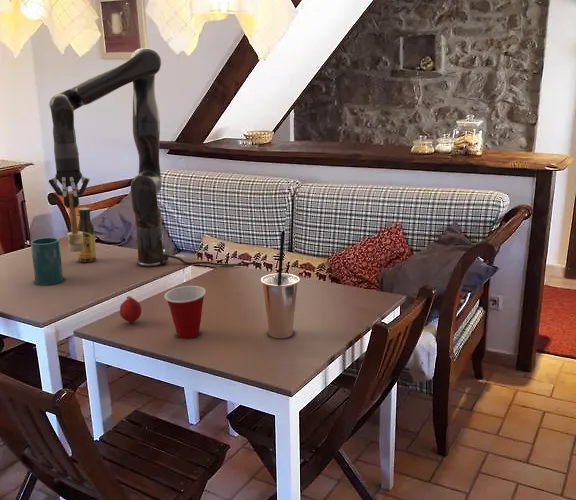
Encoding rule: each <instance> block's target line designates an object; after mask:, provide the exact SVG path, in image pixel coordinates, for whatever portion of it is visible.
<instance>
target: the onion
mask: <svg viewBox="0 0 576 500" xmlns="http://www.w3.org/2000/svg"><path fill="white" fill-rule="evenodd" d="M119 314H120V317H121V318H122V319H123V320H125V321H126V322H128V323H129V324H134V323H135V322H137V320H139V318H140V317H141V314H142V305H141V304H140V302H139V301H138V300H136V299H134V298H133V297H132V296H130V295H127V296H126V299H125V300H123V302H122V303H121V305H120V306H119Z"/></svg>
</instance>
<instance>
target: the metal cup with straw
mask: <svg viewBox="0 0 576 500" xmlns="http://www.w3.org/2000/svg"><path fill="white" fill-rule="evenodd" d="M285 235H286V232H285V231H282V230H281V232H280V243H279V244H280V245H279V257H278V258H279V259H278V272H277V273H270V274H267V275H264V276H262V277H261V278H260V282H261V283H262V287H263V288H262V289H263V296H264V304H265V312H266V318H267V319H266V321H267V329H268V335H269V336H270V337H271V338H275V339H286V338H290V337H291V336H293V334H294V323H295V312H296V303H297V294H298V284H299V282H300V280H301V279H300V277H299V276H297V275H295V274H292V273H285V272H284V273H283V264H284V263H283V261H284V249H285Z"/></svg>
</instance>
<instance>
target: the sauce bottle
mask: <svg viewBox="0 0 576 500" xmlns="http://www.w3.org/2000/svg"><path fill="white" fill-rule="evenodd" d="M78 214H79V215H78V216H79V221H78V224H77V228H78V231H81V232H83V241H84V250H82V251H78V252H77V257H78V261H79V262H80V263H93V262H94V261H96V255H97V254H96V252H97V251H96V237H95V235H96V234H95V226H94V224H93V223H92V221H91V208H90V207H80V208H78Z"/></svg>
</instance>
